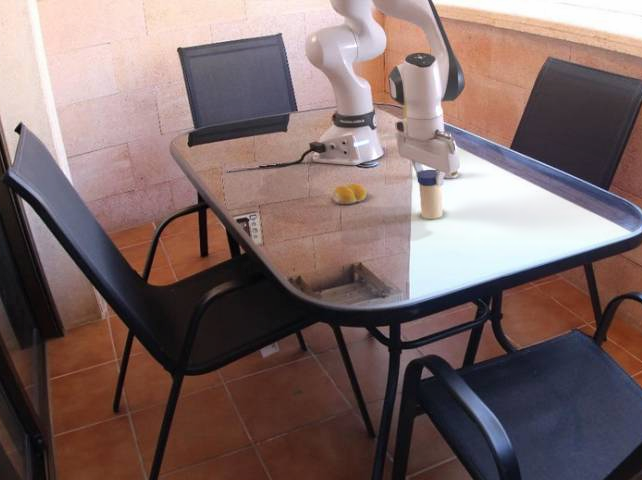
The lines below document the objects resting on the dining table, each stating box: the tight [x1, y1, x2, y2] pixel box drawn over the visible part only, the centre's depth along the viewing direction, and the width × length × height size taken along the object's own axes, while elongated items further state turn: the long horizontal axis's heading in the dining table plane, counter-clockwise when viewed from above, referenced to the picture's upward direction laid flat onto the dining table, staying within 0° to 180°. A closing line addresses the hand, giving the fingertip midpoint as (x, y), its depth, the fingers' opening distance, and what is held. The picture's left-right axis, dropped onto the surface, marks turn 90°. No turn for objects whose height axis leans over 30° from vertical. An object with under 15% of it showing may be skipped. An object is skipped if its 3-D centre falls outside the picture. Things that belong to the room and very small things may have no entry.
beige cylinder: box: [418, 183, 444, 220], centre depth 168 cm, size 5×5×11 cm
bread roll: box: [332, 183, 367, 205], centre depth 181 cm, size 8×9×4 cm
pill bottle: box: [443, 170, 459, 179], centre depth 191 cm, size 4×4×8 cm
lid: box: [416, 169, 438, 186], centre depth 165 cm, size 6×6×2 cm
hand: (429, 181), depth 166 cm, fingers closed on lid, 6 cm apart
